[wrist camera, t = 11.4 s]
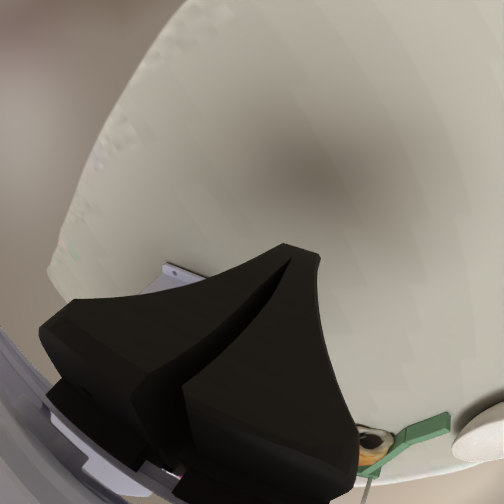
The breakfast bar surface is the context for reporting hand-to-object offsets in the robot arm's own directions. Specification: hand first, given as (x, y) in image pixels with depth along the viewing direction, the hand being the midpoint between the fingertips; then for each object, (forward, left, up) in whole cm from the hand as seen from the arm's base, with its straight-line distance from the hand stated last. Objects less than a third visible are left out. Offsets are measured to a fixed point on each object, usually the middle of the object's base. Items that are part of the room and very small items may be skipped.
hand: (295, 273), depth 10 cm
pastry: (+12, -28, -10) cm, 32 cm away
